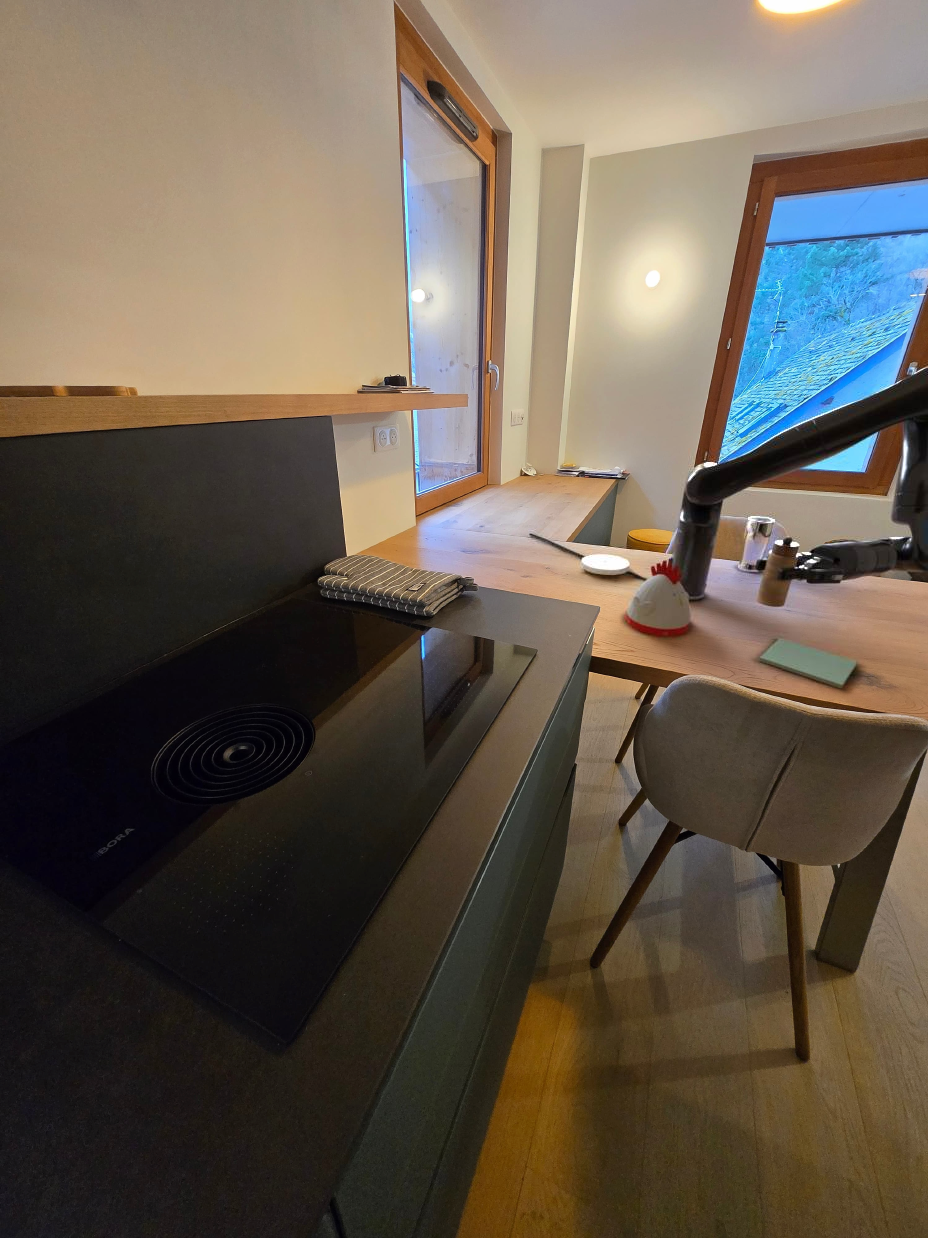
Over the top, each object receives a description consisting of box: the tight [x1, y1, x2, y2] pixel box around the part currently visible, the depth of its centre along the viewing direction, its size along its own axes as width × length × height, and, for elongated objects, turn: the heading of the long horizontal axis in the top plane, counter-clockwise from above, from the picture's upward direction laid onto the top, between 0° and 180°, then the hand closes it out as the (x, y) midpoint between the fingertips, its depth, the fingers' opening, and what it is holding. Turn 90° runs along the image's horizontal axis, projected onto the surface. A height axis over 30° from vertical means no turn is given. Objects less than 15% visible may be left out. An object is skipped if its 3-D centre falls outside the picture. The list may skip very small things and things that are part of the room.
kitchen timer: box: [625, 559, 691, 637], centre depth 113 cm, size 14×14×15 cm
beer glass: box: [737, 516, 776, 573], centre depth 144 cm, size 7×7×15 cm
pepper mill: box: [756, 536, 800, 608], centre depth 94 cm, size 5×5×13 cm
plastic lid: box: [580, 553, 631, 576], centre depth 147 cm, size 14×14×2 cm
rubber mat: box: [759, 637, 858, 689], centre depth 98 cm, size 14×12×1 cm
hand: (768, 570), depth 94 cm, fingers closed on pepper mill, 5 cm apart
